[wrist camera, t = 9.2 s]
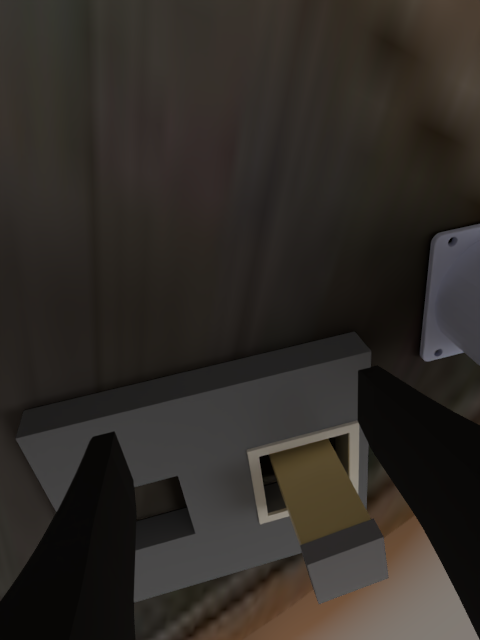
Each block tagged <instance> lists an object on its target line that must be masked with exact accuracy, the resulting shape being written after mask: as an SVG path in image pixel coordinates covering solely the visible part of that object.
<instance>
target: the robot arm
mask: <svg viewBox="0 0 480 640" xmlns="http://www.w3.org/2000/svg"><path fill="white" fill-rule="evenodd" d="M452 237H453V239H452V241H451V242H450V243H449V244H448V241H449V240H450V239H451V238H452ZM437 350H438V351H437ZM436 351H437V352H436ZM460 353H466V354H467V355H468V356H469V357H470V358H471V359H472V360H474V361H475V362H476V363H477V364H478V365H479V366H480V224H476V225H472V226H467V227H462V228H458V229H453V230H449V231H444V232H440V233H438V234H436V235H435V236H434V237H433V239H432V241H431V246H430V256H429V266H428V276H427V286H426V295H425V305H424V315H423V325H422V335H421V345H420V357H421V358H422V359H423V360H424V361H432V360H436V359H440V358H444V357H448V356H452V355H456V354H460ZM357 421H358V423H359V425H360V427H361V429H362V431H363V433H364V435H365V437H366V439H367V441H368V443H369V445H370V447H371V449H372V451H373V452H374V454H375V456H376V457H377V459H378V460H379V462H380V463H381V465H382V466H383V468H384V469H385V471H386V472H387V474H388V475H389V477H390V478H391V480H392V481H393V483H394V484H395V486H396V487H397V489H398V490H399V492H400V493H401V495H402V496H403V498H404V499H405V501H406V502H407V504H408V505H409V507H410V508H411V510H412V511H413V513H414V514H415V516H416V517H417V519H418V521H419V522H420V524H421V526H422V527H423V529H424V530H425V533H426V534H427V536H428V538H429V540H430V542H431V544H432V546H433V547H434V549H435V551H436V553H437V555H438V557H439V559H440V561H441V562H442V564H443V566H444V568H445V570H446V572H447V574H448V576H449V578H450V580H451V582H452V584H453V586H454V588H455V590H456V592H457V594H458V596H459V597H460V600H461V602H462V604H463V606H464V608H465V610H466V612H467V614H468V616H469V618H470V621H471V623H472V625H473V627H474V629H475V631H476V633H477V635H478V637H479V639H480V425H478V424H476V423H474V422H472V421H470V420H468V419H466V418H464V417H463V416H461V415H459V414H457V413H455V412H453V411H451V410H450V409H448V408H446V407H444V406H442V405H441V404H439V403H437V402H435V401H434V400H432V399H430V398H429V397H427V396H425V395H424V394H422V393H420V392H419V391H417V390H416V389H414V388H412V387H411V386H409V385H408V384H406V383H404V382H403V381H401V380H400V379H398V378H397V377H395V376H393V375H392V374H390V373H389V372H387V371H385V370H384V369H382V368H381V367H379V366H373V367H369V368H365V369H361V370H358V419H357ZM135 549H136V503H135V491H134V480H133V477H132V475H131V472H130V470H129V467H128V464H127V462H126V459H125V457H124V454H123V452H122V449H121V446H120V444H119V441H118V439H117V436H116V433H115V431H114V432H110V433H106V434H102V435H98V436H94V437H92V438H91V440H90V441H89V444H88V446H87V449H86V451H85V453H84V456H83V458H82V460H81V463H80V465H79V467H78V469H77V472H76V474H75V476H74V478H73V480H72V482H71V484H70V487H69V489H68V491H67V493H66V495H65V497H64V499H63V501H62V503H61V505H60V507H59V509H58V510H57V512H56V514H55V516H54V518H53V520H52V521H51V523H50V525H49V527H48V529H47V530H46V532H45V534H44V536H43V538H42V539H41V541H40V543H39V544H38V546H37V548H36V549H35V551H34V553H33V554H32V556H31V557H30V559H29V561H28V562H27V564H26V565H25V567H24V568H23V570H22V571H21V573H20V574H19V576H18V577H17V579H16V580H15V582H14V583H13V584H12V586H11V587H10V589H9V590H8V592H7V593H6V594H5V596H4V597H3V599H2V600H1V601H0V640H135V625H134V578H135Z"/></svg>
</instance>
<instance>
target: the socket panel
mask: <svg viewBox="0 0 480 640" xmlns="http://www.w3.org/2000/svg"><path fill="white" fill-rule="evenodd" d="M369 367H371V350H370V349H369V348H368V347H367V345H366V344H365V343H364V342H363V341H362V340H361V338H360V337H359V336H358V335H357V334H356V332H351V333H346V334H342V335H338V336H334V337H330V338H325V339H321V340H317V341H313V342H309V343H305V344H300V345H296V346H292V347H288V348H284V349H279V350H275V351H271V352H267V353H263V354H258V355H254V356H250V357H246V358H242V359H238V360H233V361H229V362H225V363H221V364H217V365H212V366H208V367H204V368H200V369H196V370H192V371H187V372H183V373H179V374H175V375H171V376H166V377H162V378H158V379H154V380H150V381H145V382H141V383H137V384H133V385H129V386H125V387H120V388H116V389H112V390H108V391H104V392H99V393H95V394H91V395H87V396H83V397H78V398H74V399H70V400H66V401H62V402H58V403H53V404H49V405H45V406H41V407H37V408H32V409H28V410H24V411H23V415H22V418H21V421H20V425H19V428H18V432H17V435H16V438H15V439H16V441H17V442H18V444H19V446H20V448H21V450H22V451H23V453H24V455H25V457H26V459H27V460H28V462H29V464H30V466H31V468H32V469H33V471H34V473H35V475H36V477H37V478H38V480H39V482H40V484H41V486H42V487H43V489H44V491H45V493H46V495H47V496H48V498H49V500H50V502H51V504H52V505H53V507H54V509H55V511H56V512H57V510H58V509H59V507H60V505H61V503H62V501H63V499H64V497H65V495H66V493H67V491H68V489H69V487H70V484H71V482H72V480H73V478H74V476H75V474H76V472H77V469H78V467H79V465H80V463H81V460H82V458H83V456H84V453H85V451H86V449H87V446H88V444H89V441H90V440H91V438H92V437H94V436H98V435H102V434H106V433H110V432H114V431H115V433H116V436H117V439H118V441H119V444H120V446H121V449H122V452H123V454H124V457H125V459H126V462H127V464H128V467H129V470H130V472H131V475H132V477H133V480H134V487H137V486H141V485H145V484H148V483H152V482H156V481H160V480H163V479H167V478H171V477H175V476H178V478H179V481H180V485H181V488H182V491H183V494H184V498H185V501H186V504H187V508H183V509H180V510H176V511H172V512H169V513H165V514H162V515H158V516H154V517H151V518H147V519H143V520H140V521H136V549H135V578H134V602H138V601H141V600H144V599H148V598H151V597H154V596H158V595H161V594H165V593H168V592H171V591H175V590H178V589H181V588H185V587H188V586H191V585H195V584H198V583H202V582H205V581H208V580H212V579H215V578H218V577H222V576H225V575H229V574H232V573H235V572H239V571H242V570H245V569H249V568H252V567H255V566H259V565H262V564H266V563H269V562H272V561H276V560H279V559H282V558H286V557H289V556H293V555H296V554H299V553H302V551H301V548H300V544H299V541H298V539H297V536H296V533H295V530H294V527H293V525H292V522H291V519H290V516H289V513H288V511H287V508H286V505H285V502H284V499H283V497H282V494H281V491H280V488H279V485H278V483H274V484H270V485H267V486H263V479H262V473H261V467H260V460H259V457H261V456H264V455H268V454H272V453H276V452H279V451H283V450H287V449H290V448H294V447H298V446H302V445H305V444H309V443H313V442H317V441H320V440H324V439H328V438H332V437H335V450H336V454H337V456H338V458H339V460H340V462H341V463H342V465H343V467H344V469H345V471H346V473H347V475H348V477H349V478H350V480H351V482H352V484H353V486H354V488H355V490H356V492H357V494H358V495H359V497H360V499H361V501H362V503H363V505H364V507H365V509H366V508H367V476H368V441H367V439H366V437H365V435H364V433H363V431H362V429H361V427H360V425H359V423H358V421H357V419H358V370H361V369H365V368H369Z"/></svg>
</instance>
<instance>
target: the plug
mask: <svg viewBox="0 0 480 640" xmlns="http://www.w3.org/2000/svg"><path fill="white" fill-rule="evenodd" d="M268 455H269V458H270V461H271V464H272V468H273V471H274V474H275V477H276V480H277V483H278V485H279V488H280V491H281V494H282V497H283V499H284V502H285V505H286V508H287V511H288V513H289V516H290V519H291V522H292V525H293V527H294V530H295V533H296V536H297V539H298V541H299V544H300V548H301V551H302V554H303V557H304V561H305V564H306V567H307V570H308V574H309V577H310V580H311V583H312V586H313V589H314V592H315V595H316V598H317V601H318V603H319V604H321V603H323V602H326V601H329V600H331V599H334V598H337V597H339V596H342V595H345V594H347V593H350V592H353V591H355V590H358V589H360V588H363V587H366V586H369V585H371V584H374V583H377V582H379V581H382V580H384V579H387V578H388V570H387V562H386V553H385V546H384V537H383V535H382V533H381V531H380V530H379V528H378V526H377V524H376V522H375V520H374V518H373V519H371V518H370V516H369V514H368V512H367V510H366V509H365V507H364V505H363V503H362V501H361V499H360V497H359V495H358V494H357V492H356V490H355V488H354V486H353V484H352V482H351V480H350V478H349V477H348V475H347V473H346V471H345V469H344V467H343V465H342V463H341V462H340V460H339V458H338V456H337V454H336V452H335V450H334V448H333V447H332V445H331V443H330V441H329V439H324V440H320V441H317V442H313V443H309V444H305V445H302V446H298V447H294V448H290V449H287V450H283V451H279V452H276V453H272V454H268Z"/></svg>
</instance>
